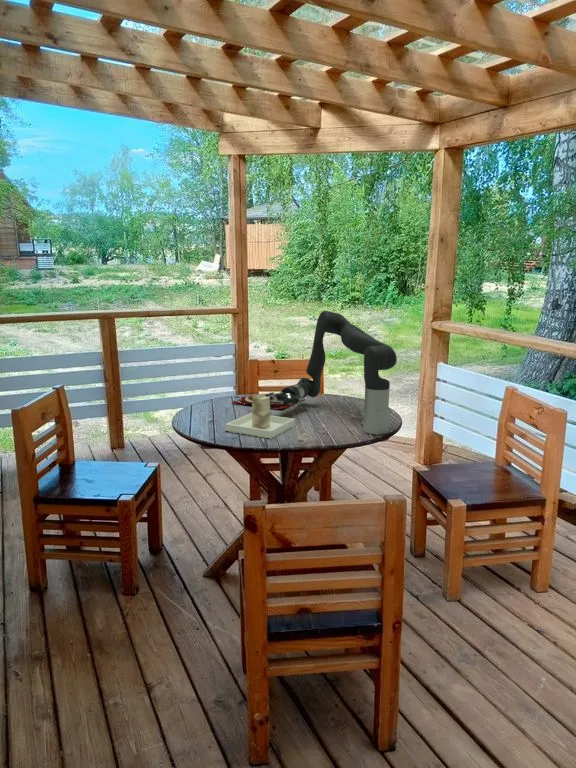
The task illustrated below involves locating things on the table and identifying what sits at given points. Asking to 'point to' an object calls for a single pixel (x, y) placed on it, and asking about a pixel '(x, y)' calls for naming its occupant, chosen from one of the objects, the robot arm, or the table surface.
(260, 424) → the block
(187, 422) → the table surface
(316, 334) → the robot arm
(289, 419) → the tray
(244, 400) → the plate with food
